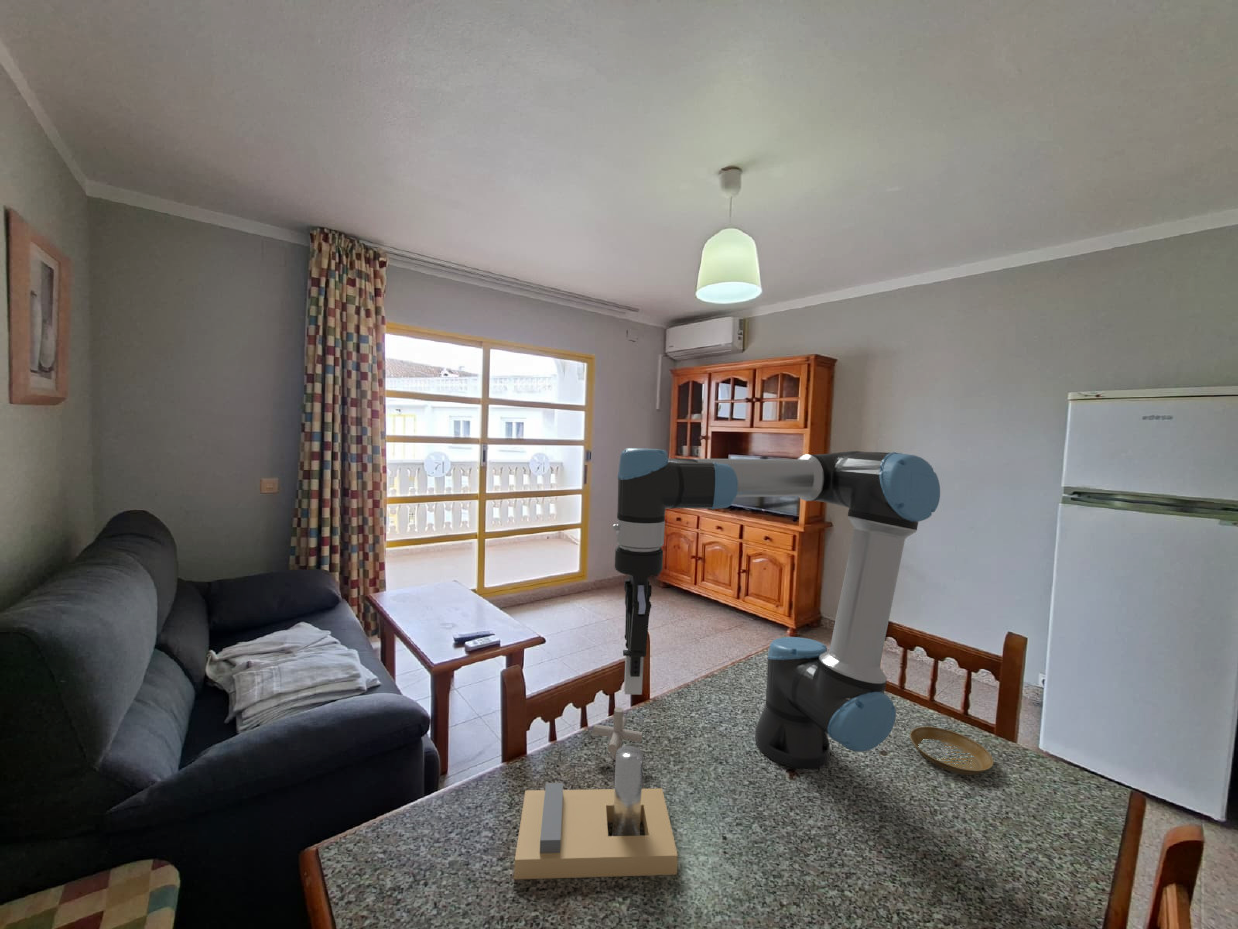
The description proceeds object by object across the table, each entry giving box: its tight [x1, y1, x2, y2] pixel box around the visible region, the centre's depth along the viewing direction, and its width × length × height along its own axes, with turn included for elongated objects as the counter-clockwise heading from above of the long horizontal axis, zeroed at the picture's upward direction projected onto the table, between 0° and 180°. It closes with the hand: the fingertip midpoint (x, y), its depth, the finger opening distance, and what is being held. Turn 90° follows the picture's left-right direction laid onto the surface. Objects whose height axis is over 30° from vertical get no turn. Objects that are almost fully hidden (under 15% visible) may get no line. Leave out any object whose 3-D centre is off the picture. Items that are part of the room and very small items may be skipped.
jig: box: [513, 782, 679, 880], centre depth 79 cm, size 24×14×5 cm, turn 95°
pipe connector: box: [592, 706, 644, 761], centre depth 99 cm, size 10×10×10 cm
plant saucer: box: [909, 726, 995, 776], centre depth 104 cm, size 15×15×3 cm
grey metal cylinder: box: [611, 745, 644, 836], centre depth 79 cm, size 4×4×14 cm
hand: (632, 692), depth 78 cm, fingers closed
